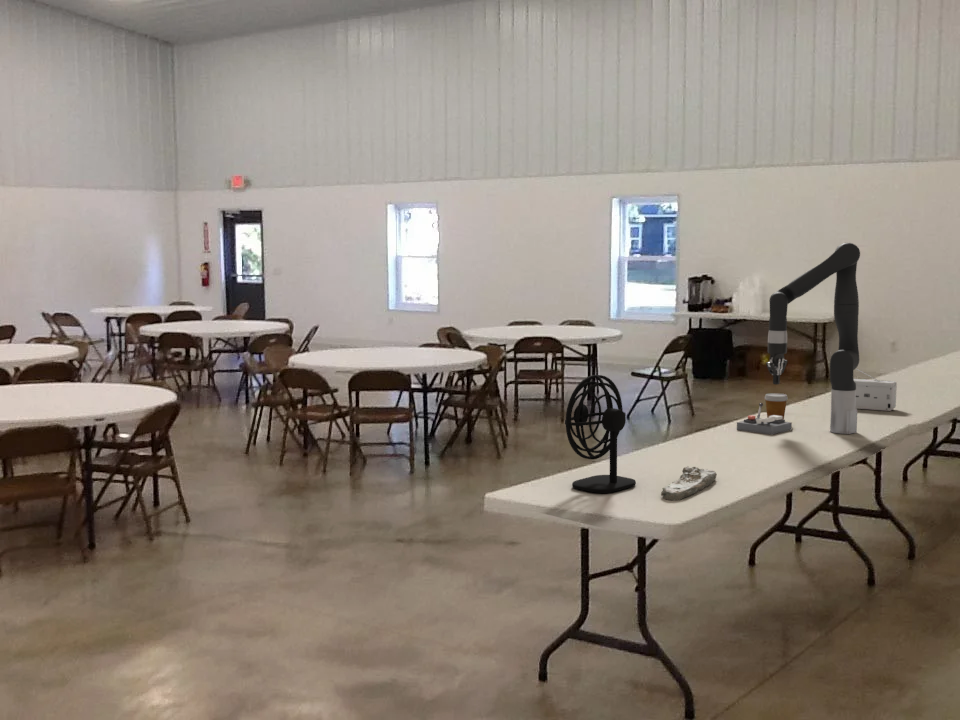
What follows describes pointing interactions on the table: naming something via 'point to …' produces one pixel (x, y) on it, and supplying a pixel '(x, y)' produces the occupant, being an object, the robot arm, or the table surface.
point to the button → (751, 417)
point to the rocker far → (765, 420)
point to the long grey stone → (689, 483)
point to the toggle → (759, 410)
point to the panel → (764, 426)
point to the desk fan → (611, 423)
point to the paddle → (776, 417)
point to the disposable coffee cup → (775, 404)
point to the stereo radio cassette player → (875, 394)
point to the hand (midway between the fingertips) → (776, 384)
